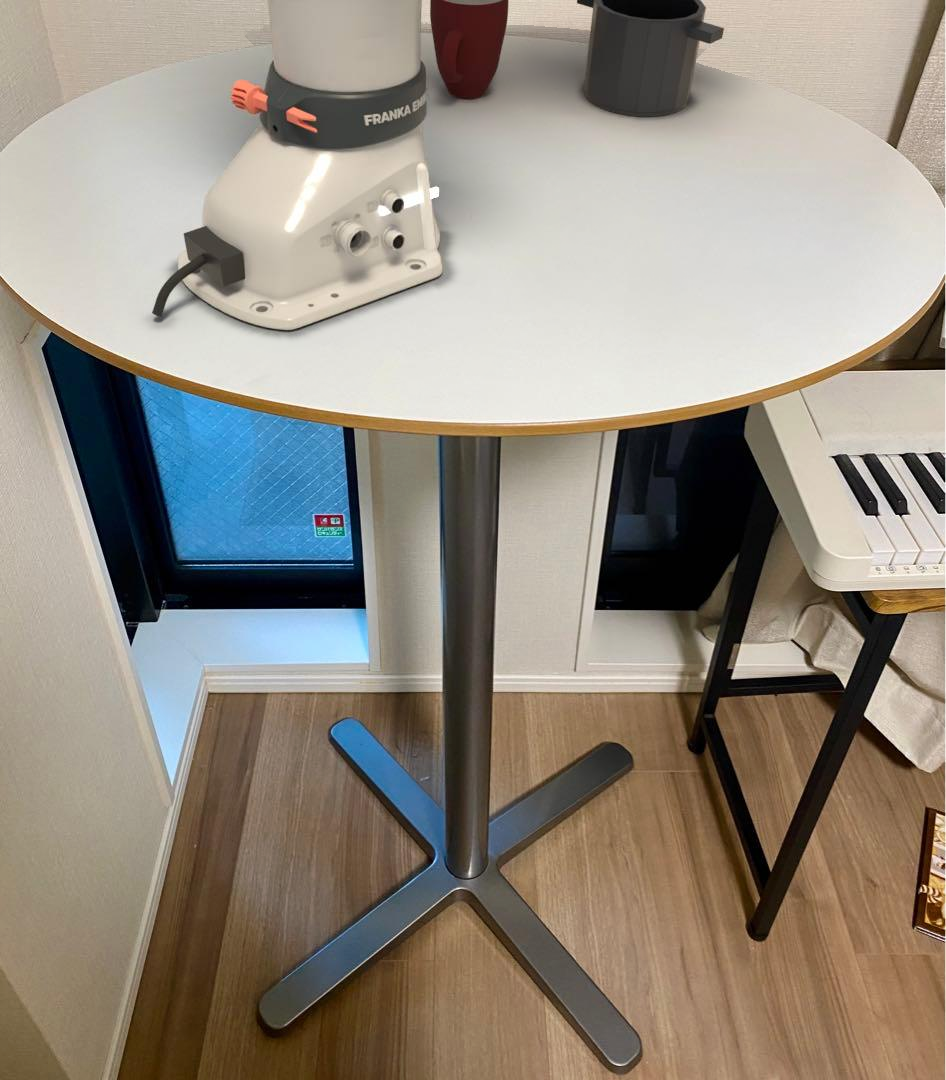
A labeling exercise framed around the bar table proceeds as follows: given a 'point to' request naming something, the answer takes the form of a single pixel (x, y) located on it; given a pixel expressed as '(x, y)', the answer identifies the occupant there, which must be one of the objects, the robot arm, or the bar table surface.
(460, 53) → the mug
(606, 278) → the bar table surface
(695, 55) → the dark grey pot
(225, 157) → the bar table surface
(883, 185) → the bar table surface
